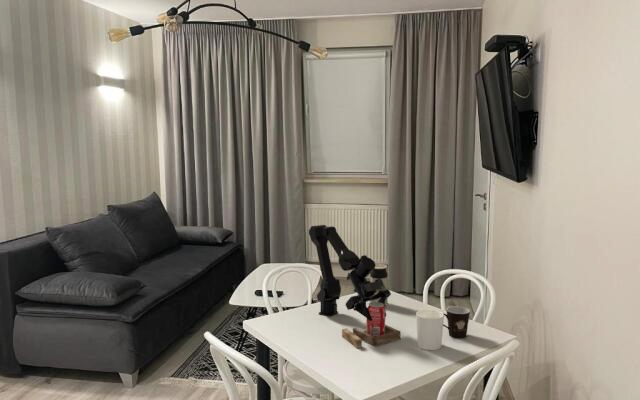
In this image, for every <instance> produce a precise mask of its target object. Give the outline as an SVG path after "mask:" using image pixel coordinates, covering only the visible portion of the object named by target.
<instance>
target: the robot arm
mask: <svg viewBox="0 0 640 400" xmlns="http://www.w3.org/2000/svg"><path fill="white" fill-rule="evenodd" d="M308 235H309V237H310V241H311V242H312V243H313V244H314V245H315V247H316V248H315V249H316V251H317V257H318V262H319V268H320V273H321V279H322V280H321V282H320V284H319V286H320V290H319V292H318V293H317V294H316V299H317V301H319V302H320V312H318V315H322V316H327V317H333V316H335V315H336V314H339V311H338V303H337V300H340V298H341V293H342V287H341V283H340V279H337V278H336V277H335V276H334V272H333V267H332V262H331V257H330V252H329V246H328V242H329V244H330V246H332V248H333V250H334V251H335V253H336V254H337V257H338V264H339V266H340V268H341V269H342V271H346V272H347V271H350V272H347V276H346V281H349V280H350V282H351V283H352V285H353V287H354V289H353V292H354V293H357V295H352V296H350V297H349V298H348V300H347V301H346V302H345V307H346V309H347V310H348V311H349V310H353V311H356V312H358V313H359V314H360V315H362V316H363V317H365V318H366V320H367V319H368V320H370V321H372V318H371V316H370V313H369V311H368V309H367V308H368V306H367V303H368V302H370V301H372V300H375V301H376V302H380V303H383V304H384V307H385V308H386V305H385V300H386V299H387V298H388V299H389V297H391V295H392V293H391V291H390V289H384V290H380V291H379V292H378V293H377V294H376V295H374V293H376V292H377V291H376V290H378V289H381V287H382V286H384V284H383V281H382V280H381V278H380V279H377V280H375V282H372V283H371V282H370V280H369V281H368V279H367V277H368V276H369V275H370V273H371V272H372V271H373V269H374V268H375V264H376V262H375V261H374V260H373V259H372V258H370V257H368V256H367V255H366V254H365V255H361V256H360V257H359V256H358V255H357V254H356V253H355V251H353V250H350V249H349V248H348V247H347V245H346V244H345V242H344V240H343V239H342V237H341V236H340V235H339V233H338V232H337V228H336V227H335V226H333V225H332V226H327V225H325V224H318V225H312V226H310V228H309V230H308ZM386 311H387V310H386V309H385V318H386V317H387V312H386Z"/></svg>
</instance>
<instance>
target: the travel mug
mask: <svg viewBox="0 0 640 400" xmlns="http://www.w3.org/2000/svg"><path fill="white" fill-rule="evenodd" d="M387 268H388V265H386V264H379V263H378V264H376V263H375V268H374V269H373V271H372V272H371V273H370V274H369V275H370V277H369V281H370V282H371V283H372V282H375V280H377V279H380V278H381V280H382V281H383V284H384V286H382V287H381V289H378V290H376V291H377V292H376V293H374V295H376V294H377V293H378V292H379V291H380V290H384V289H388V287H389V286H388V285H389V284H388V283H389V282H388V279H389V278H388V275H389V274H388V270H387ZM388 290H389V289H388ZM388 299H389V297H388V298H387V299H386V300H385V306H387V305H388ZM371 302H376V301H375V300H372V301H369V303H371Z"/></svg>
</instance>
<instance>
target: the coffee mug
mask: <svg viewBox="0 0 640 400" xmlns="http://www.w3.org/2000/svg"><path fill="white" fill-rule="evenodd" d="M442 313H443V312H442ZM470 313H471V310H470V309H469V308H467V307H464V306H456V305H455V306H448V307H446V313H443V314H444V317H446V319H447V325H446V324H444V323H443V328H444V327H445V328H446V329H447V330H448V336H450V338H454V339H465V338H467V335H468V334H467V333H468V328H469V327H468V326H469V320H470Z"/></svg>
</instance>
